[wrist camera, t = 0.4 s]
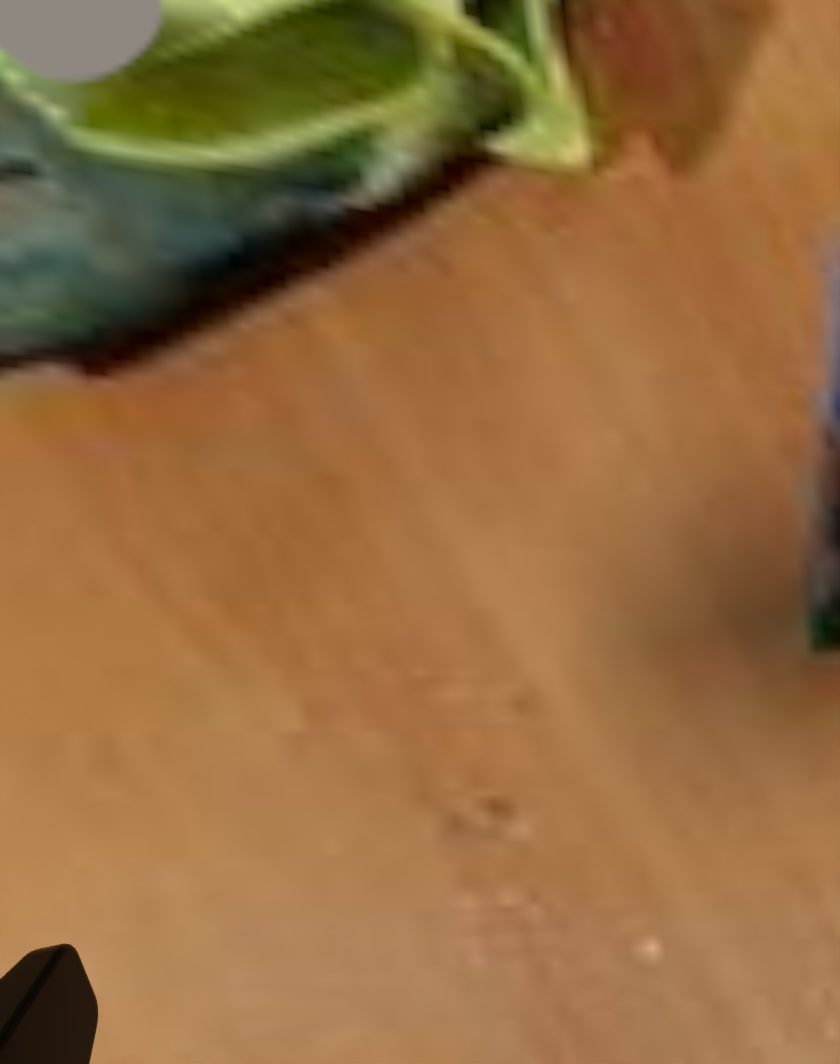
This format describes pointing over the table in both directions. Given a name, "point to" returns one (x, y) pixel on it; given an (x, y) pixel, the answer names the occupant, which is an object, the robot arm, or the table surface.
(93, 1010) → the robot arm
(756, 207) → the table surface
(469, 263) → the table surface
